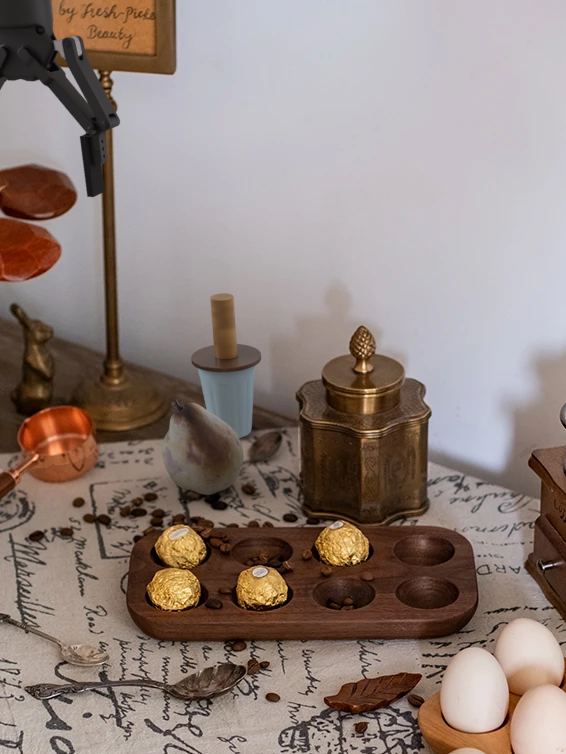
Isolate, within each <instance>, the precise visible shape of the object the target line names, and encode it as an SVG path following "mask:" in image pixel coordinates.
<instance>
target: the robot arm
mask: <svg viewBox="0 0 566 754" xmlns="http://www.w3.org/2000/svg"><path fill="white" fill-rule="evenodd" d="M84 43H85V42H84V39H83V38H82V36H80V35H73V36H67V37H64V38H59V39H58V38H57V37H56V35H55V31H54V13H53V6H52V0H0V91H1V90H2V89H3V86H4V85H5V83H6V82H7V81H8V82H14V81H19V80H23V81H25V82H37V81H39V82H40V83H41V84H42V85H44V86H45V87H47V88H48V89H49V90H50V92H52V93H53V95H54V96H55V97H56V98H57V100H58V101H59V103H61V104H62V105H63V107H64V108H65V109H66V110H67V112H68V113H69V114H70V115H71V116H72V118H73V119H74V120H75V121H76V123H78V125H79V126H80V127H81V129H83V131H84V132H85V133H84V134H82V135H80V136H79V143H80V150H81V157H82V165H83V166H82V167H83V173H84V183H85V189H86V197H87V198H95V197H97V196H99V195H101V194H103V193H105V184H104V176H103V175H104V174H103V167H102V165H105V164H107V161H108V152H107V144H106V142H107V141H106V132H107V131H109V130H112V129H114V128H116V127H118V126H120V124H121V120H120V117H119V115H118V113H117V111H116V109H115V107H114V106H113V103H112V102H111V100H110V98H109V96H108V95H107V93H106V91H105V89H104V87H103V85H102V84H101V81H100V79H99V78H98V76H97V73H96V72H95V70H94V68H93V67H92V65H91V62H90V61H89V59H88V56H87V53H86V47H85V44H84ZM58 53H59V55H60V57H61V58H62V59H63V60H64V61H65V62H66V65H67V67H68V69H69V71H70V73H71V75H72V76H73V79H74V81H75V82H76V84H77V86H78V88H79V90H80V91H81V93H82V94H81V93H80V92H79V90H77V88H76V87H75V86H74V84H73V83H72V82H71V81H70V80H69V79H68V78H67V73H66V71H65V70H64V69H63V68H62V67H61V65H60V64H59V63H58V61H56V58H57V55H58ZM82 95H83V96H82Z"/></svg>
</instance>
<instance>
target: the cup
mask: <svg viewBox="0 0 566 754" xmlns="http://www.w3.org/2000/svg"><path fill="white" fill-rule="evenodd" d="M197 370H198V375H199V379H200V385H201V390H202V394H203V399H204V404H205V409H206V410H207V411H209V412H211V413H212V414H214V415H215V416H217V417H218V418H220V419H221V420H223V421H224V422H225V423H226V424H228V425H229V426H230V427H231V428H232V429H233V430H234V431H235V433H236V434H237V436H238V437H239V439H241V438H245V437H247V436H248V435H249V434H251V432H252V427H253V410H254V393H255V392H254V390H255V374H256V373H255V372H256V365H255V366H253V367H251V368H248V369H245V370H241V371H235V372H209V371H204V370H201V369H198V368H197Z"/></svg>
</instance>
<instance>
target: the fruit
mask: <svg viewBox="0 0 566 754" xmlns="http://www.w3.org/2000/svg"><path fill="white" fill-rule="evenodd" d="M171 405H172V406H173V407H174V408H175V409H176V410H175V411H174V412H173V413H172V414H171V417H170V420H169V428H168V430H167V432H166V434H165V435H164V439H163V443H162V449H161V455H162V461H163V465H164V468H165V470H166V472H167V474H168V475H169V477H170V479H171V480H172V481H173V482H174V483H175V485H177V487H179V488H181V489H182V490H187V491H192V492H195V493H198V494H199V495H204V496H210V495H214V494H216V493H219V492H222V491H225V490H227V489H228V488H230V487H231V486H232V485H233V484H234V483H235V482H236V480H237V479H238V477H239V476H240V473H241V470H242V467H243V465H244V458H245V454H244V449H243V448H244V447H243V444H242V441H241V440H240V438H239V437H238V436H237V434H236V433H235V431H234V430H233V429H232V428H231V427H230V426H229V425H228V424H226V423H225V422H224V421H223V420H221V419H220V418H218V417H217V416H215V415H214V414H212V413H211V412H209V411H207V409H206V408H205V407H203V406H201V405H200V404H198V403H195V402H187V403H184V404H182V405H180V404H179V401H178V399H176V398H174V399H172V401H171Z"/></svg>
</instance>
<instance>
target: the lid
mask: <svg viewBox="0 0 566 754" xmlns="http://www.w3.org/2000/svg"><path fill="white" fill-rule="evenodd" d="M209 298H210V299H209V300H210V312H211V326H212V339H213V344H212V345H208V346H205V347H201V348H199V349H197V350H196V351H194V352H193V353H192V354H191V356H190V361H191V364H192V366H194V367H195V368H196V369H197V370H198V369H201V370H204V371H209V372H235V371H241V370H245V369H248V368H251V367H253V366H255V367H256V366H257V365H258V364H260V362H261V361H262V352H261V351H260V350H259V349H258V348H256V347H255V346H252V345H248V344H241V343H238V339H237V326H236V325H237V323H236V311H235V310H236V309H235V296H234V295H233V294H231V293H225V292H223V293H222V292H221V293H215V294H212V295H211V296H210V297H209Z"/></svg>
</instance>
